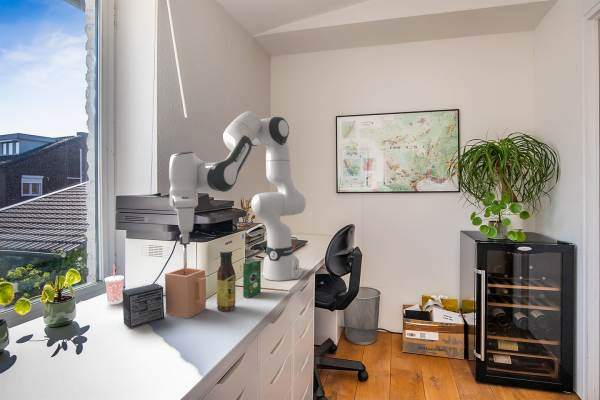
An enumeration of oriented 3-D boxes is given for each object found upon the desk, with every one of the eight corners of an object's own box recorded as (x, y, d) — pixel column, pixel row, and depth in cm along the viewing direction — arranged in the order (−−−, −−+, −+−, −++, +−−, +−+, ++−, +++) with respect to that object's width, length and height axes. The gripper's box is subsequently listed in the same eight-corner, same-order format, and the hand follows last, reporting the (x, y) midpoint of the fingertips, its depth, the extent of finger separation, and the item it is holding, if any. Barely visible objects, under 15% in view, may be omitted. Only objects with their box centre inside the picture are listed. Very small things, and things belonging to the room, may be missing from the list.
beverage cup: (101, 304, 118) (99, 265, 118) (115, 298, 124) (113, 261, 124) (115, 306, 117) (113, 266, 116) (128, 300, 123) (127, 262, 122)
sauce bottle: (231, 312, 111) (230, 253, 110) (213, 311, 112) (212, 253, 111) (238, 305, 117) (238, 249, 116) (222, 304, 118) (221, 249, 117)
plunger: (184, 280, 116) (183, 232, 115) (200, 282, 113) (199, 234, 112) (170, 286, 110) (169, 235, 109) (186, 288, 107) (185, 236, 106)
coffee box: (255, 291, 133) (255, 258, 132) (261, 292, 131) (261, 259, 131) (242, 297, 126) (242, 262, 125) (248, 298, 124) (248, 263, 124)
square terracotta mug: (185, 304, 118) (184, 267, 117) (213, 309, 113) (212, 270, 112) (165, 314, 109) (164, 273, 109) (195, 320, 105) (194, 277, 104)
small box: (157, 313, 110) (156, 282, 110) (165, 319, 106) (164, 286, 105) (122, 322, 103) (121, 289, 103) (129, 329, 98) (128, 294, 98)
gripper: (172, 199, 118) (173, 237, 119) (174, 202, 99) (175, 248, 100) (191, 198, 121) (192, 236, 121) (196, 202, 102) (197, 246, 103)
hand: (184, 241), depth 111 cm, fingers closed on plunger, 3 cm apart
